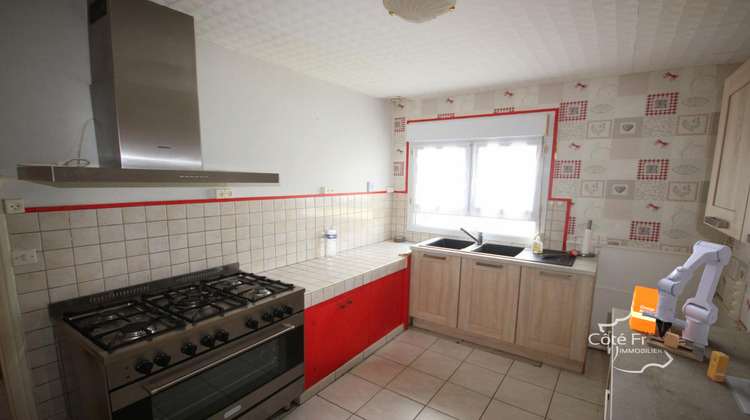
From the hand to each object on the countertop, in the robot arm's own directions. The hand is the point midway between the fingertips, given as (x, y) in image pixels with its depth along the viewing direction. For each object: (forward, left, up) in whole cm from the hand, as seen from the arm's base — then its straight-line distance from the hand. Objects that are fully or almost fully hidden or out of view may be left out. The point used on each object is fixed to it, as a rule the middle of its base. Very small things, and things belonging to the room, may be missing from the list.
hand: (661, 336), depth 137 cm
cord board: (0, +4, -4) cm, 6 cm away
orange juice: (-12, -7, -4) cm, 15 cm away
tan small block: (0, +3, -2) cm, 4 cm away
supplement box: (+15, +16, -4) cm, 22 cm away
